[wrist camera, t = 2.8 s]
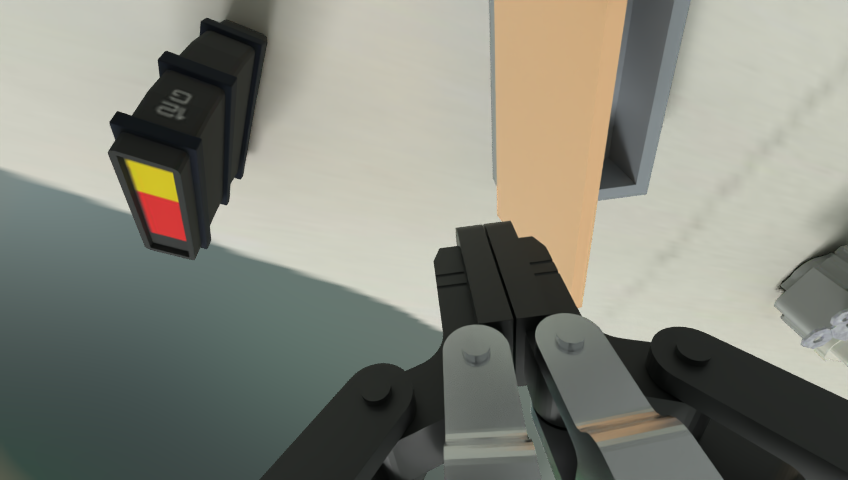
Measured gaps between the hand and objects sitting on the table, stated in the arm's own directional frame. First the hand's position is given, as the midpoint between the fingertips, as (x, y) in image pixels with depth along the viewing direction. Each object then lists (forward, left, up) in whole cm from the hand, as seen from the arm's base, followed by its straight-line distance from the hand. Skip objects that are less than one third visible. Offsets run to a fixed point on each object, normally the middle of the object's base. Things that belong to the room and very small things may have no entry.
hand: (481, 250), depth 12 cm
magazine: (+2, -15, -25) cm, 29 cm away
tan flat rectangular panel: (0, +6, -13) cm, 14 cm away
